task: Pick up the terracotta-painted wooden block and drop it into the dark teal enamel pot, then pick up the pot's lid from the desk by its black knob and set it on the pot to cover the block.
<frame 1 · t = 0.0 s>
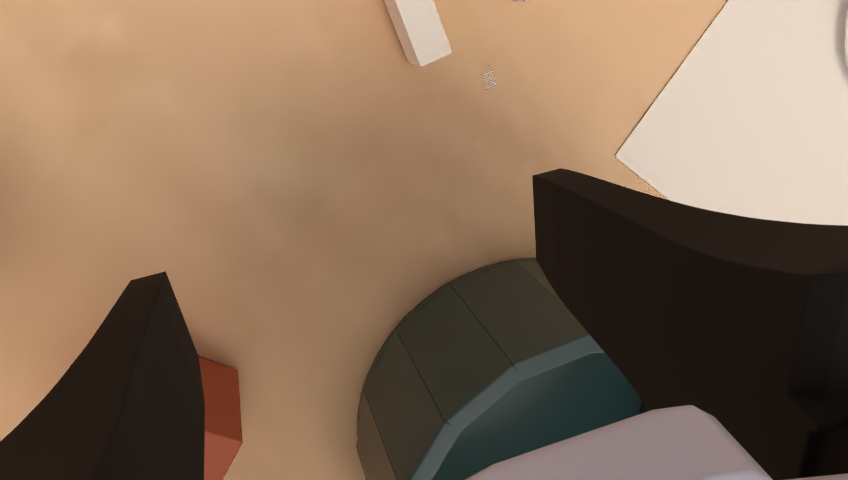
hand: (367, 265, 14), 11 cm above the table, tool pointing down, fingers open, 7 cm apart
pot: (513, 406, 29), on the table
block: (155, 400, 25), on the table
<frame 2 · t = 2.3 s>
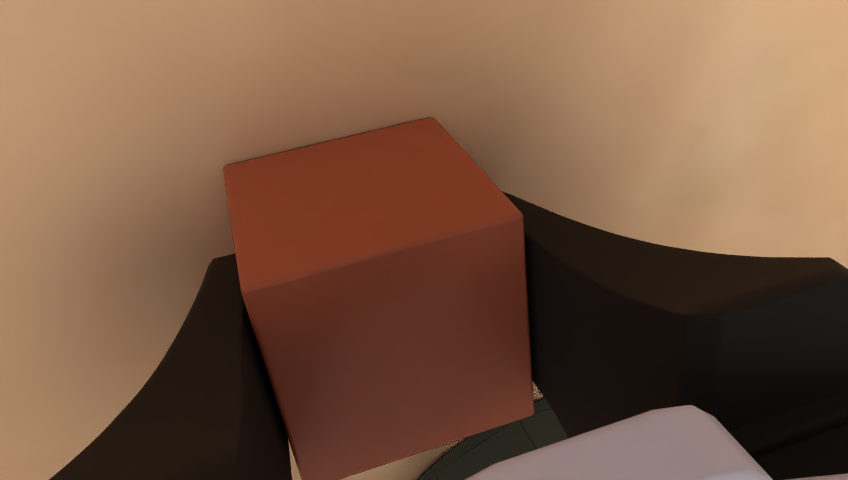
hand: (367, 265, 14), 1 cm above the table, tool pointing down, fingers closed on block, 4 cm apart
block: (350, 231, 15), on the table, touching gripper
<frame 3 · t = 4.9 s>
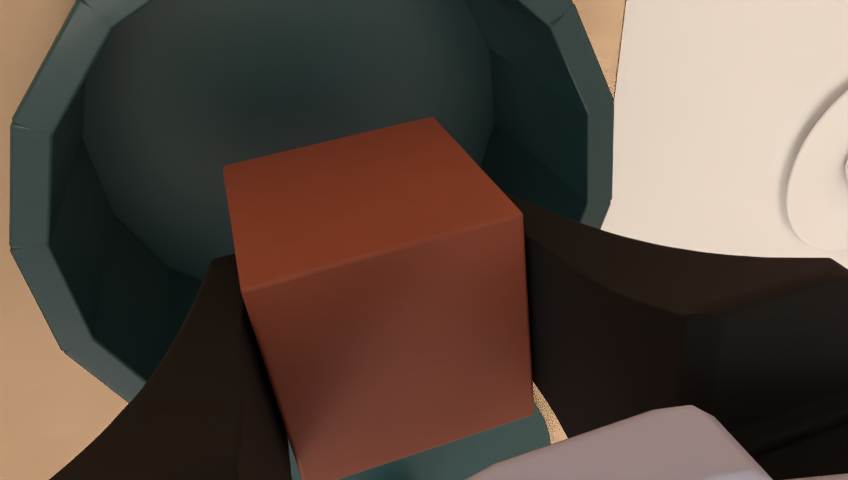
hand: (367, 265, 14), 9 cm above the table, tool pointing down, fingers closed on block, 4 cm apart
pot: (303, 123, 21), on the table
block: (349, 231, 15), point 7 cm above the table, touching gripper
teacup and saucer: (807, 218, 29), on the table
when the fingers open (2 cm above the table, at t = 7.3 s): block stays where it is, resting on pot.
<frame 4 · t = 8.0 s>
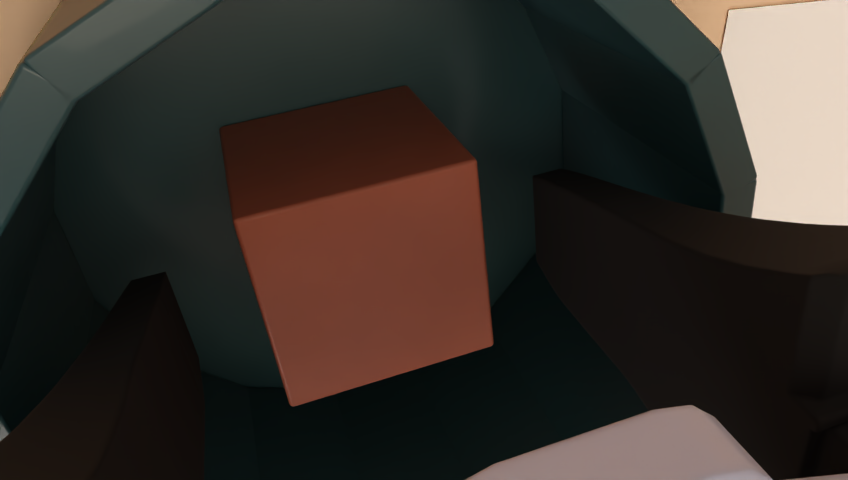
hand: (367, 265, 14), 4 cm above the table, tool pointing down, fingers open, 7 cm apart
pot: (331, 183, 17), on the table
block: (333, 189, 16), resting on pot
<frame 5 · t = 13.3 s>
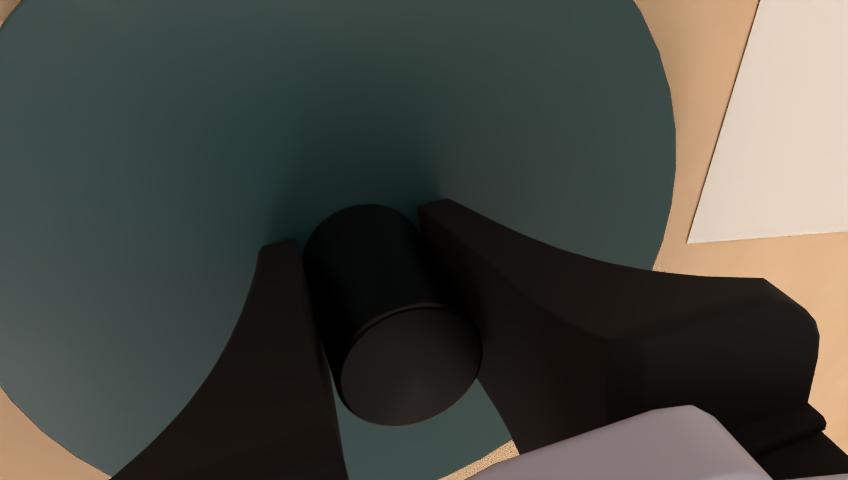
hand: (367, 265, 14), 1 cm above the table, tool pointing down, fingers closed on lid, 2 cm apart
lid: (356, 245, 14), point 1 cm above the table, touching gripper
when the fingers open (7 cm above the table, at t = 17.4 s): lid stays where it is, resting on pot.
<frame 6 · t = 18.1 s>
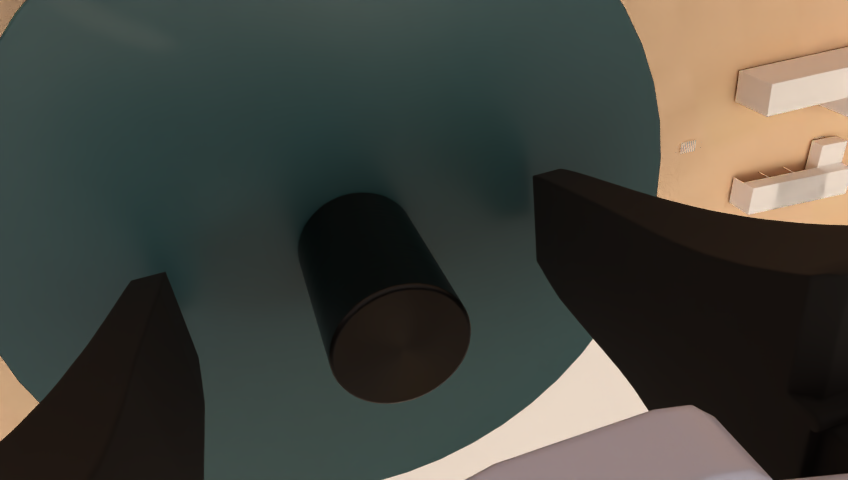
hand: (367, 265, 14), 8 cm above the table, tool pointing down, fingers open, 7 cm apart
lid: (351, 233, 15), point 6 cm above the table, touching pot
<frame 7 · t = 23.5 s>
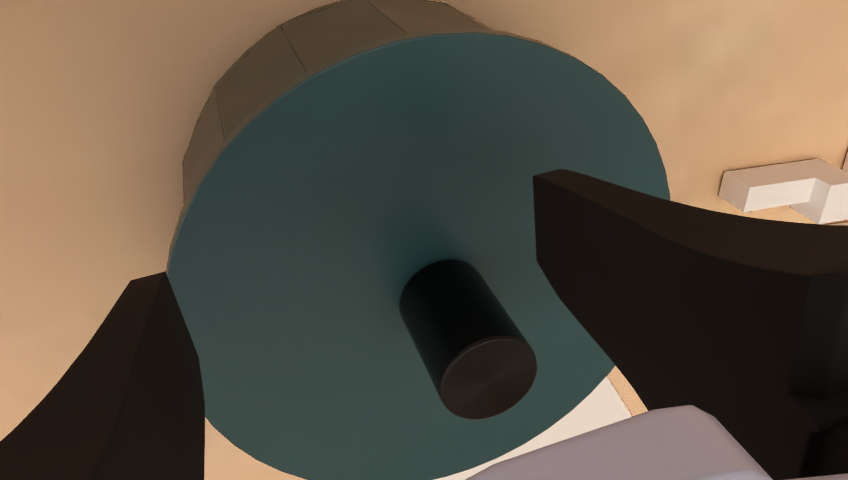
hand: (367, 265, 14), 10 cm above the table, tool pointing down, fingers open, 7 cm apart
pot: (380, 189, 25), on the table
lid: (436, 287, 19), point 6 cm above the table, touching pot
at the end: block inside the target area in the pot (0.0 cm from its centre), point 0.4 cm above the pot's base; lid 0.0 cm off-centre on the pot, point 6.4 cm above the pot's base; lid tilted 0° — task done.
